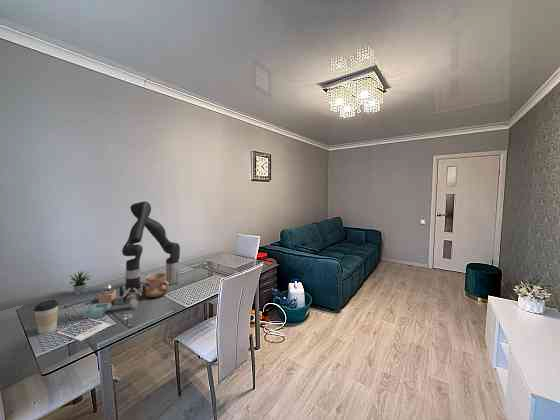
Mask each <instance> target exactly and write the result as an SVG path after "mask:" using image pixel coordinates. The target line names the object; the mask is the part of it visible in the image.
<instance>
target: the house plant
mask: <svg viewBox="0 0 560 420" xmlns="http://www.w3.org/2000/svg"><path fill="white" fill-rule="evenodd" d="M85 272H86V270H84V271H83V270H81V271H78V273H77V274H76V273H73V274H72V275H69V276H66V277H70V278H71V279H70V280H71V281H70V282H69V285H71V284H73V285H72V287H73V291H74V294H75V295H78V294H77V293H82V292H84V291H85V292H86V287H87V286H86V285H87V282H85V281H90V280H91V276H92V277H93V276H94V275H88V272H86V273H85ZM84 273H85V274H84ZM83 274H84V275H83ZM89 274H92V273H90V272H89ZM73 275H74V276H73ZM85 292H84V293H85ZM82 294H83V293H82Z"/></svg>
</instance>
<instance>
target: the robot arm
mask: <svg viewBox="0 0 560 420" xmlns="http://www.w3.org/2000/svg"><path fill="white" fill-rule="evenodd" d="M130 211H131V213H132V215H133V216H134V217H135V218H136V219H137V221H136V222H135V223H134V224H133V225H132V227H131V228H130V232H129V235H128V239H127V241H126V242H125V244H124V245H123V247H122V250H121V254H122V255H123V256H124V257H134V258H131V259H128V260H126V262H125V269H126V270H125V285H123V284H122V285H121V286H119V293H118V294H119V296H123V301H124V302H127V293H128V292H130V293H132V292H137V293H138V296H139V302H142V301H143V299H144V295H145V293H146V289H147V284H146V283H143V284H141V271H140V270H141V268H140V261H141V257H142V254H143V250H144V249H143V246H142V245H141V244H138V243H140V242H141V241H142V238H143V234H144V230H145V228H146V229H147V230H148V232H149V233H150V235H151V236H152V237H153V238H155V240H156V241H157V242H158V244H159V245H160V247H161V249H162V250H163V252H164V253H166V254H168V255H170V256H169V257H168V258H166V259H165V260H166V261H165V274H166V277H165V281H167V282H168V283H169V284H173V285H175V284H174V283H178V284H179V282H180V270H179V266H180V265H179V260H180V257H181V253H180V252H181V247H180V243H177V242H171V241H170V240H169V239H168V237H167V233H166V229H165V227H164V226H163V225H162V224H161V223H160V222H159V221H157V220H155V219H153V218H151V217H150V214H151V211H152V205H151V204H150V202H148V201H139V202H137V203H133V204H131V205H130ZM178 281H179V282H178ZM124 289H125V290H126V291H125V292H124ZM124 293H125V294H124Z"/></svg>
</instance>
